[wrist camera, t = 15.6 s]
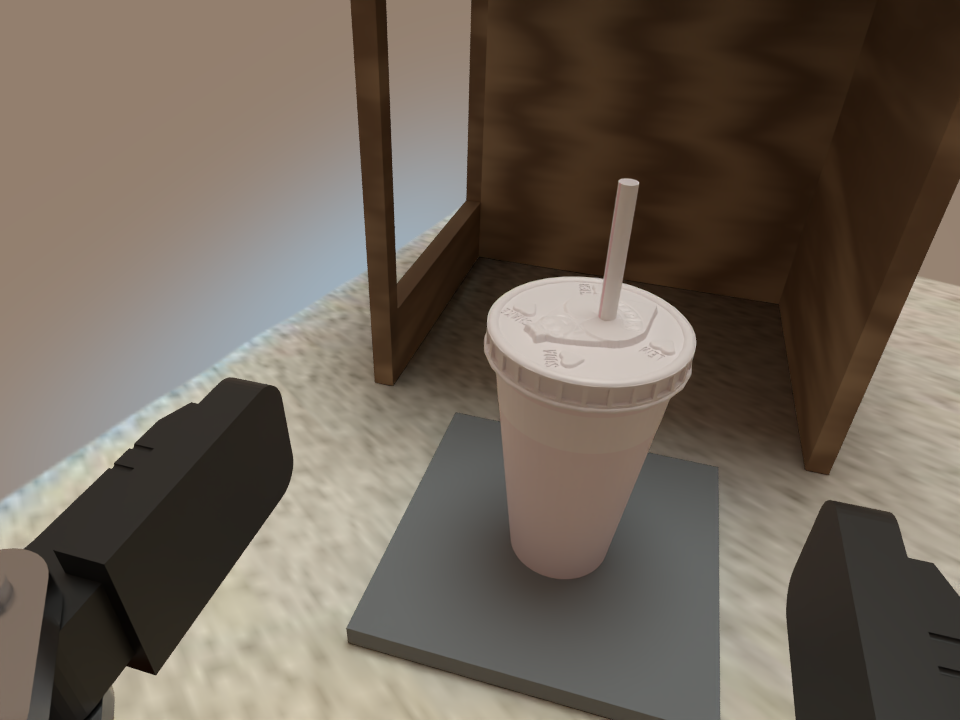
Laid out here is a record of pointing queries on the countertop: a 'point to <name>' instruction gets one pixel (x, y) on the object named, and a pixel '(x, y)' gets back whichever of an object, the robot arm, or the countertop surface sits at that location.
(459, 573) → the slate mat
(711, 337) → the countertop surface
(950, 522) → the countertop surface
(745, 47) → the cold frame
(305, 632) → the countertop surface
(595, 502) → the smoothie
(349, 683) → the countertop surface
